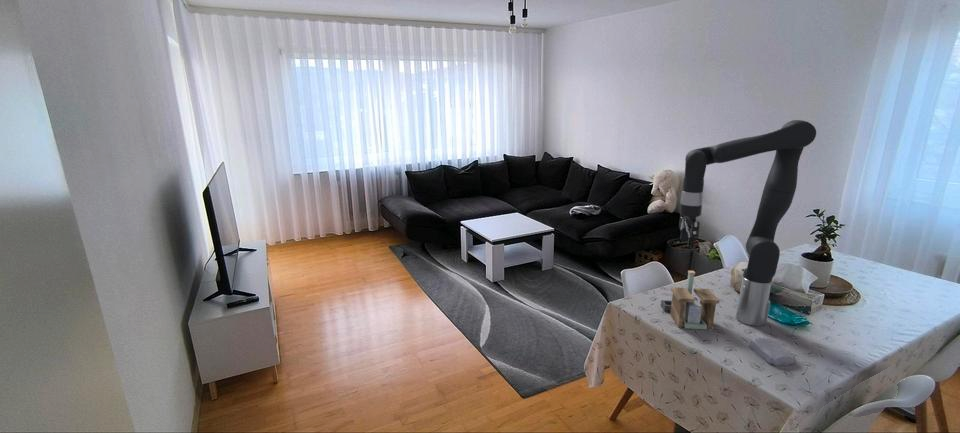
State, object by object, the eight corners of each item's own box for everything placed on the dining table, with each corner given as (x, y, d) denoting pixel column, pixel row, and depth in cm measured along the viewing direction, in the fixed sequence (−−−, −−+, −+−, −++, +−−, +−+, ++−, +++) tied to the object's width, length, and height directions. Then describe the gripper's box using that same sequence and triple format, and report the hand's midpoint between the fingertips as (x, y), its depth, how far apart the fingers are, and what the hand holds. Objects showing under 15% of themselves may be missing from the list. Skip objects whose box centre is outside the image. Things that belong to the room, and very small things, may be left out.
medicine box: (699, 327, 162) (702, 306, 159) (686, 326, 162) (689, 305, 160) (693, 317, 169) (696, 297, 167) (681, 316, 170) (684, 296, 168)
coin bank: (747, 279, 204) (753, 253, 199) (773, 299, 188) (780, 272, 183) (715, 281, 203) (720, 256, 198) (739, 301, 187) (745, 274, 182)
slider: (694, 313, 171) (701, 271, 167) (706, 329, 160) (713, 284, 155) (674, 312, 172) (680, 270, 167) (685, 328, 160) (691, 283, 156)
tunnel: (704, 316, 170) (708, 288, 167) (714, 329, 160) (719, 300, 157) (667, 314, 171) (670, 287, 168) (675, 327, 162) (679, 298, 159)
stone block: (770, 349, 151) (744, 346, 149) (775, 338, 149) (749, 334, 148) (796, 371, 139) (769, 367, 138) (803, 359, 138) (775, 354, 137)
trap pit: (699, 307, 177) (699, 302, 176) (703, 313, 172) (704, 307, 171) (660, 305, 178) (661, 300, 178) (664, 311, 174) (664, 305, 173)
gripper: (709, 207, 158) (704, 249, 162) (694, 198, 172) (690, 237, 176) (687, 207, 159) (683, 249, 163) (675, 198, 173) (671, 237, 177)
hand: (686, 243), depth 170 cm, fingers open, 8 cm apart
